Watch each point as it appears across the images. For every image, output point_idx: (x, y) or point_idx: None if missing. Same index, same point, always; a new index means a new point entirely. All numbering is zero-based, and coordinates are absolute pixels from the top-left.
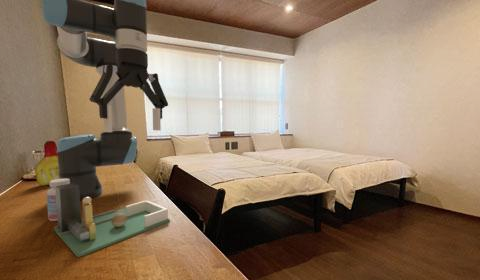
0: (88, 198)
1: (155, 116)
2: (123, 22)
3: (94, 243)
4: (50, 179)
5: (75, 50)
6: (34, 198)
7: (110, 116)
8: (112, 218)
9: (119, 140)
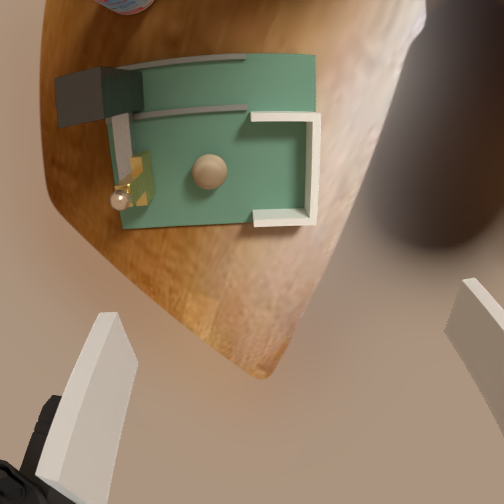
0: (120, 209)
1: (502, 379)
2: None
3: (150, 208)
4: None
5: None
6: None
7: (111, 444)
8: (193, 173)
9: None
